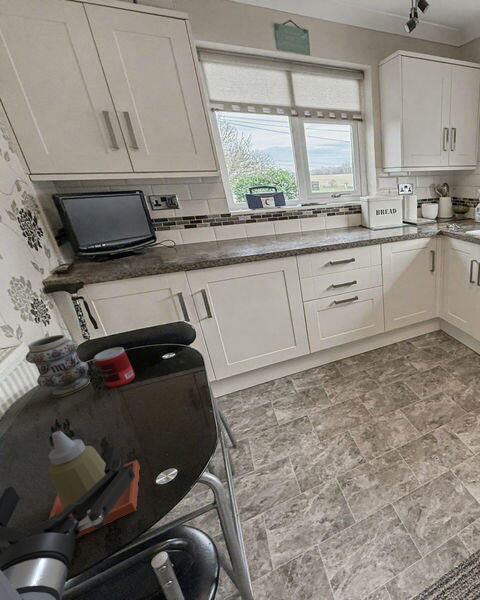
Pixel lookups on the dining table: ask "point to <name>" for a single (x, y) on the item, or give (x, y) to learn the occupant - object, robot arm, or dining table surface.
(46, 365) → the apothecary jar
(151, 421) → the dining table surface
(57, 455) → the squeeze bottle
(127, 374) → the canned food
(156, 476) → the dining table surface
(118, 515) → the tray
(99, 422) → the dining table surface
